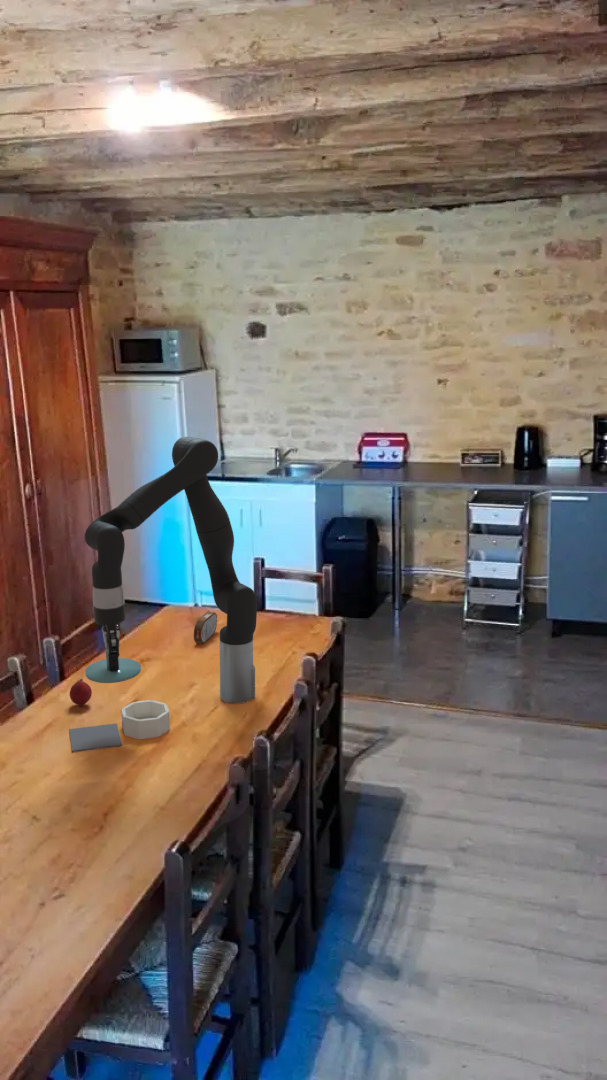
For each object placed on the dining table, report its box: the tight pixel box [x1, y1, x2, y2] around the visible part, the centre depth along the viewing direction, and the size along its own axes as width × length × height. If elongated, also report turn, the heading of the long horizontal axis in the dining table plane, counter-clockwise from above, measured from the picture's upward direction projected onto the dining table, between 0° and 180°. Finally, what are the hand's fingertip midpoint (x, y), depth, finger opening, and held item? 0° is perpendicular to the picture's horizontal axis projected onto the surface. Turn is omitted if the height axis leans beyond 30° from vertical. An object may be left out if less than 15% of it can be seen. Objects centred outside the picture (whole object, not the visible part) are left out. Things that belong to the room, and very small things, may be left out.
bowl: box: [120, 699, 171, 740], centre depth 228 cm, size 12×12×5 cm
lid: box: [84, 650, 142, 684], centre depth 221 cm, size 14×14×5 cm
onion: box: [69, 677, 92, 707], centre depth 240 cm, size 6×6×8 cm
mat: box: [68, 722, 123, 753], centre depth 223 cm, size 12×12×1 cm
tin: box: [193, 610, 218, 644], centre depth 291 cm, size 15×3×8 cm, turn 164°
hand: (113, 667), depth 221 cm, fingers closed on lid, 3 cm apart
